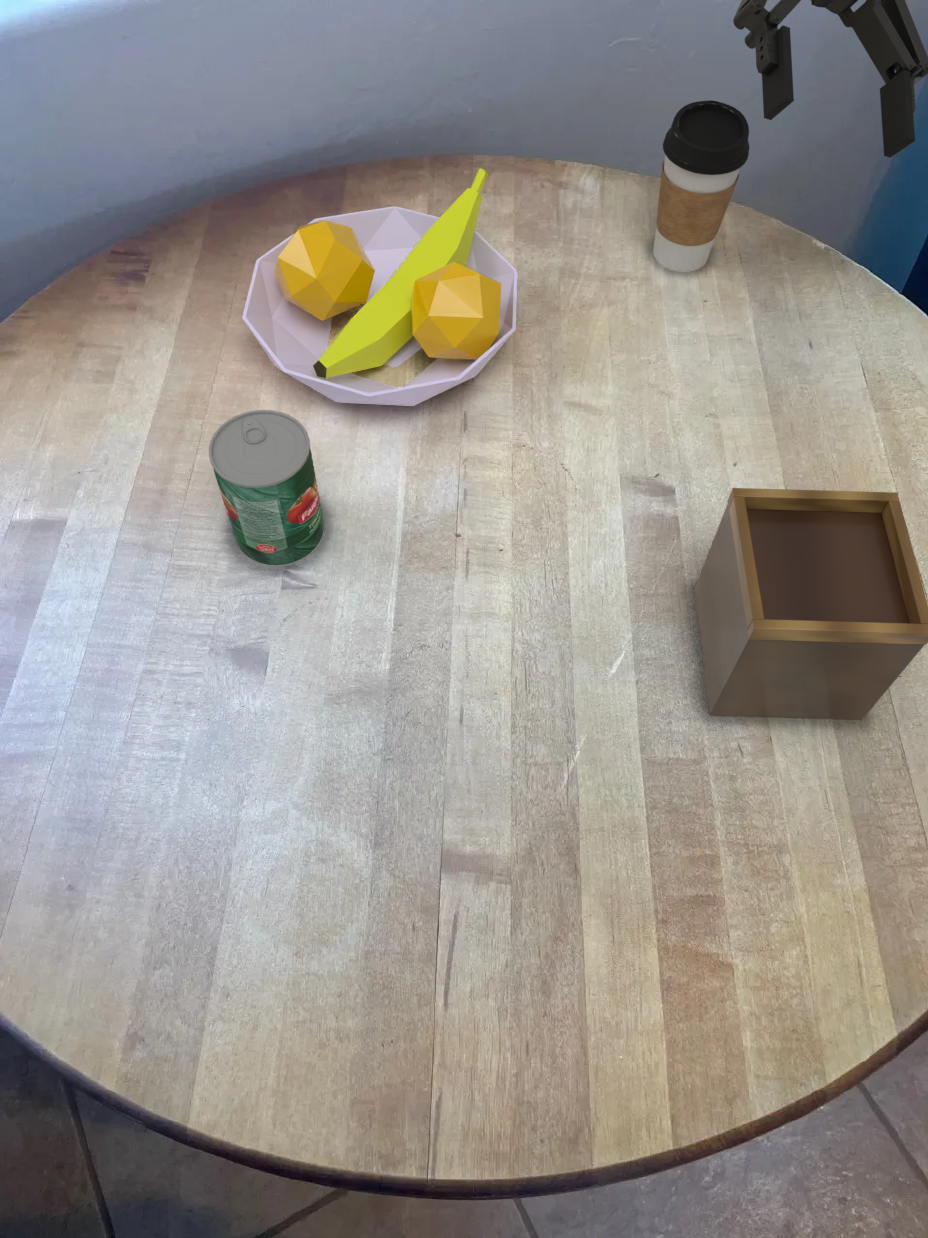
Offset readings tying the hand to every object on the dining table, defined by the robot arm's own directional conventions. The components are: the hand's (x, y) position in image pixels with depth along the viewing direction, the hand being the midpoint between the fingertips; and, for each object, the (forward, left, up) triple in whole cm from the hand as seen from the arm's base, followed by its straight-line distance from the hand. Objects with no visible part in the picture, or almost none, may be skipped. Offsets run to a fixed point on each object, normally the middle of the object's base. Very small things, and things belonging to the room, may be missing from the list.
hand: (841, 129), depth 82 cm
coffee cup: (+10, -9, -21) cm, 25 cm away
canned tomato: (+43, +35, -21) cm, 59 cm away
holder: (0, +40, -21) cm, 45 cm away
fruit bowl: (+38, +9, -21) cm, 44 cm away
